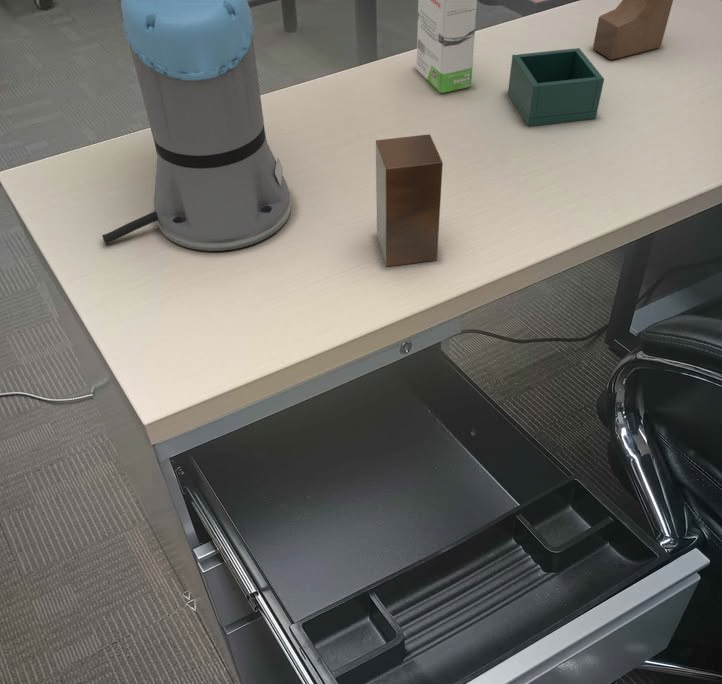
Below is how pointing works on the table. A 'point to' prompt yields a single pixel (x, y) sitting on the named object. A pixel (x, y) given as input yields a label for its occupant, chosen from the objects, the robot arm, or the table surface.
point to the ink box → (446, 42)
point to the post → (408, 199)
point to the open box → (555, 86)
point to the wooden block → (632, 28)
